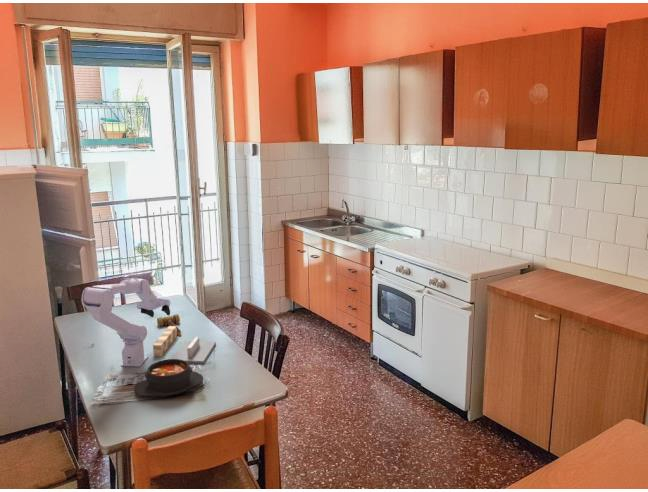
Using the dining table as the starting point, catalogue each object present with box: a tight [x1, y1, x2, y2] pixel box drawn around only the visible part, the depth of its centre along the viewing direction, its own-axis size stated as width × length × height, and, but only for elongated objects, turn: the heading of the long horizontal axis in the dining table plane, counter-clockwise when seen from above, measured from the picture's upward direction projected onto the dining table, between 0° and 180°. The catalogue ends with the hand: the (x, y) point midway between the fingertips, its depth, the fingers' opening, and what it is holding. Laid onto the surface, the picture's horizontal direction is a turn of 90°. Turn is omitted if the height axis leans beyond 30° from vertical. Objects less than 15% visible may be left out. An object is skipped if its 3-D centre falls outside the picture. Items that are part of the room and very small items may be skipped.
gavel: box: [156, 313, 182, 337], centre depth 259 cm, size 21×5×10 cm
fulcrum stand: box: [170, 336, 217, 365], centre depth 231 cm, size 20×14×5 cm
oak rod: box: [152, 325, 178, 357], centre depth 240 cm, size 22×4×5 cm, turn 178°
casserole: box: [133, 358, 204, 397], centre depth 201 cm, size 25×19×8 cm
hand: (161, 314), depth 240 cm, fingers open, 7 cm apart
